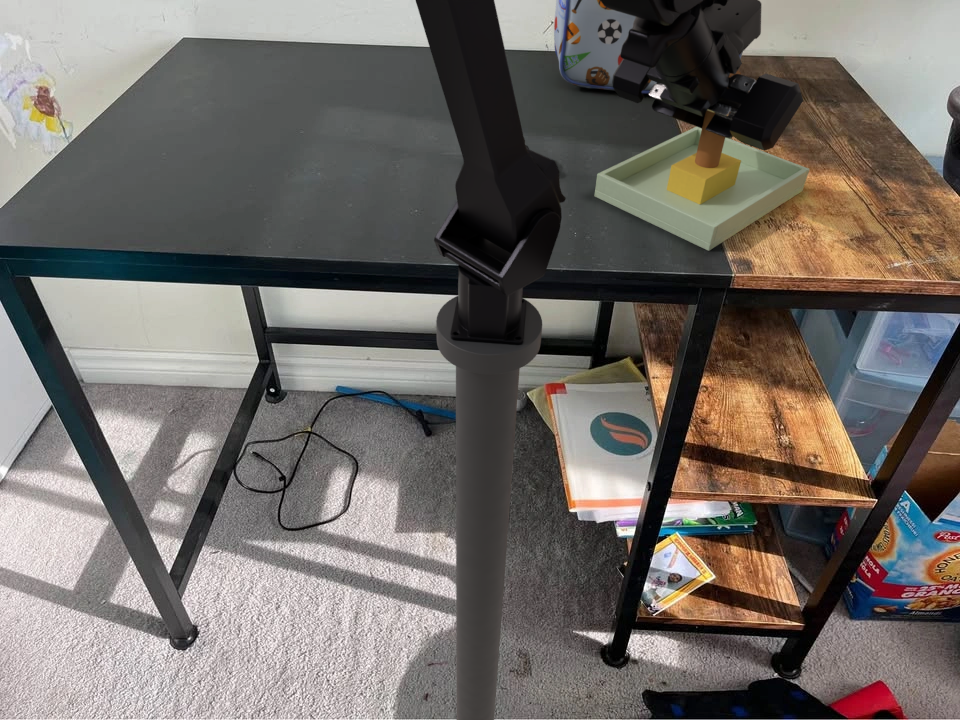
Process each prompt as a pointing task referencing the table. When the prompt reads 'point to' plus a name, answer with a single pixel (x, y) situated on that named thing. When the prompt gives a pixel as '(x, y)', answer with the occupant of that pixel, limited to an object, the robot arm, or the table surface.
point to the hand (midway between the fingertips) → (720, 130)
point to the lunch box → (591, 42)
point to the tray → (718, 218)
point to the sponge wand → (704, 168)
